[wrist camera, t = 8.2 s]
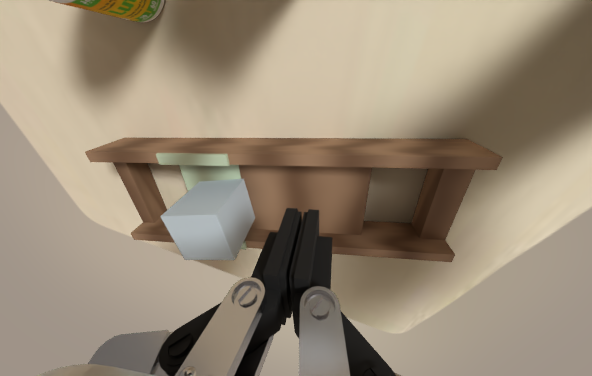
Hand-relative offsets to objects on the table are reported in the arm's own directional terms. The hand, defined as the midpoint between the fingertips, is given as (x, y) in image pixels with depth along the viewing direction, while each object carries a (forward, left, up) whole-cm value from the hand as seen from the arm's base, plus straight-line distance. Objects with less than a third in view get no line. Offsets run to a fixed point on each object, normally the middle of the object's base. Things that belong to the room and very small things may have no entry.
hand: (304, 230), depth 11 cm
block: (+9, +5, -10) cm, 14 cm away
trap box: (+4, +4, -12) cm, 13 cm away
